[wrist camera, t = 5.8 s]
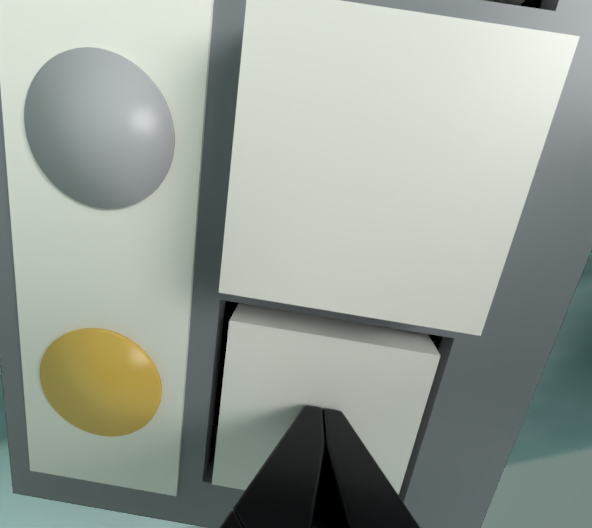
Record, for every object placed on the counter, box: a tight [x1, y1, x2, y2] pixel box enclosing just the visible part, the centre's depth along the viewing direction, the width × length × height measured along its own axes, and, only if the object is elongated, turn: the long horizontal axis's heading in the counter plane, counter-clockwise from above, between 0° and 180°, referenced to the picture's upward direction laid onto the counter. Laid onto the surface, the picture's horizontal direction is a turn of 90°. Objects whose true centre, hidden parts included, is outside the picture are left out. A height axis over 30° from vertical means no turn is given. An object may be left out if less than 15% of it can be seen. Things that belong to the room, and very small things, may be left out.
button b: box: [219, 0, 580, 336], centre depth 7 cm, size 4×4×2 cm
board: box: [0, 0, 592, 528], centre depth 8 cm, size 12×19×3 cm, turn 171°
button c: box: [212, 303, 441, 495], centre depth 10 cm, size 4×4×2 cm
